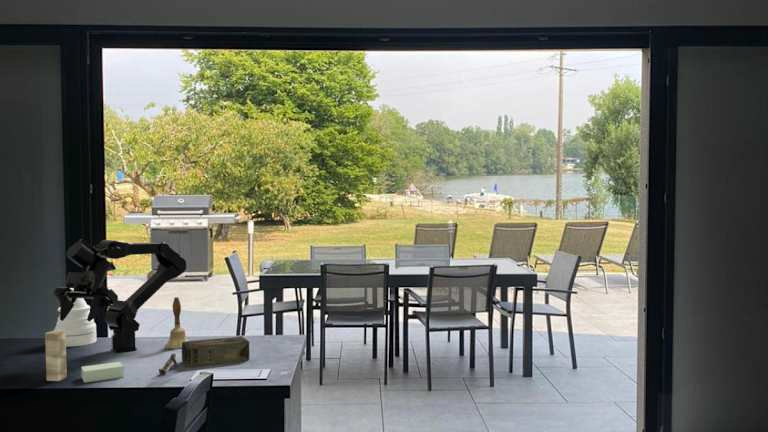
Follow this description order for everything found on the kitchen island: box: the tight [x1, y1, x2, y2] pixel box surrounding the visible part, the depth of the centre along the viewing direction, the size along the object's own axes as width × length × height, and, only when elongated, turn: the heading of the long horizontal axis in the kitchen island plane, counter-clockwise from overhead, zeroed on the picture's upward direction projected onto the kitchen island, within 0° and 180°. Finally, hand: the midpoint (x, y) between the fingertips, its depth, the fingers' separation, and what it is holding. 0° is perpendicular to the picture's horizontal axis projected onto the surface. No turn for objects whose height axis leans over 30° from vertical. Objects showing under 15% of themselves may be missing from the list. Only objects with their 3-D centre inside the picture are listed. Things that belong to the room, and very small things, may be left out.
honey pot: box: [54, 287, 98, 348], centre depth 234 cm, size 13×13×18 cm
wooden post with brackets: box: [158, 353, 178, 375], centre depth 198 cm, size 2×8×4 cm, turn 168°
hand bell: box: [164, 296, 189, 350], centre depth 227 cm, size 8×8×16 cm
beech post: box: [44, 329, 68, 382], centre depth 190 cm, size 4×4×13 cm
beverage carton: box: [181, 335, 250, 368], centre depth 209 cm, size 8×19×7 cm, turn 116°
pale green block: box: [80, 361, 125, 383], centre depth 192 cm, size 10×6×3 cm, turn 120°
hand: (74, 320), depth 204 cm, fingers open, 9 cm apart
